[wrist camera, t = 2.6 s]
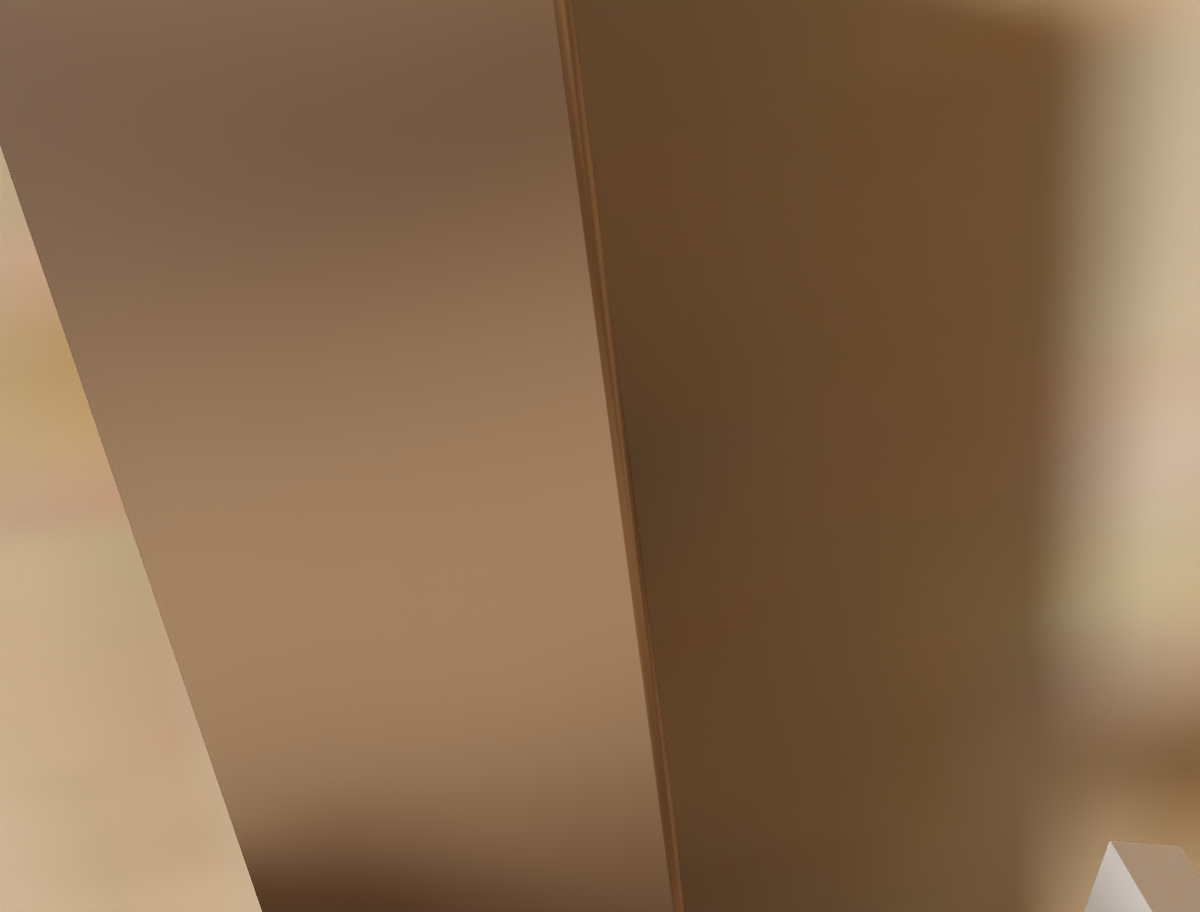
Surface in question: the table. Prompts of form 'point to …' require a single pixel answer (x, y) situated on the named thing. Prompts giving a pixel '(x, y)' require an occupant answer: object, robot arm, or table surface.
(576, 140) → the slat
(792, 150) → the table surface
